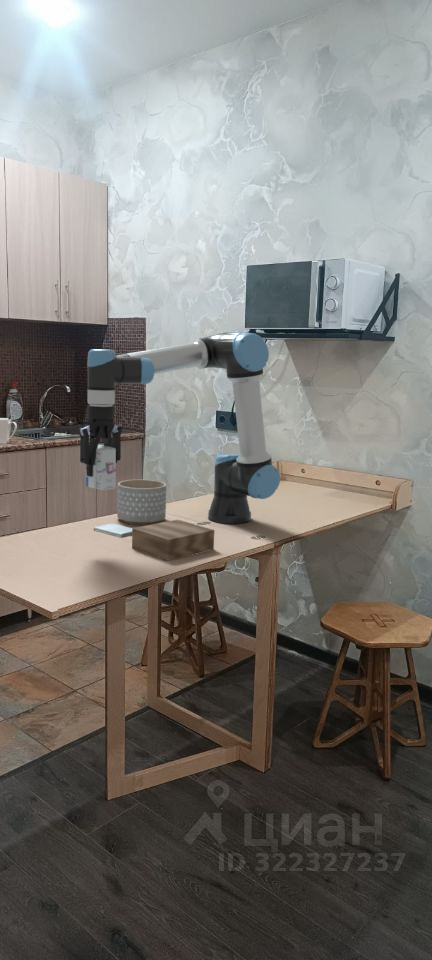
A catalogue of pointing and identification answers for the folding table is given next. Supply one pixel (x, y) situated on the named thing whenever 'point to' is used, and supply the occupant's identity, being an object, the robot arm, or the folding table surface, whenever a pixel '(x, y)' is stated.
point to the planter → (141, 501)
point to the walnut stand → (172, 539)
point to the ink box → (105, 468)
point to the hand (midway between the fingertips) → (100, 486)
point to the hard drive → (114, 530)
